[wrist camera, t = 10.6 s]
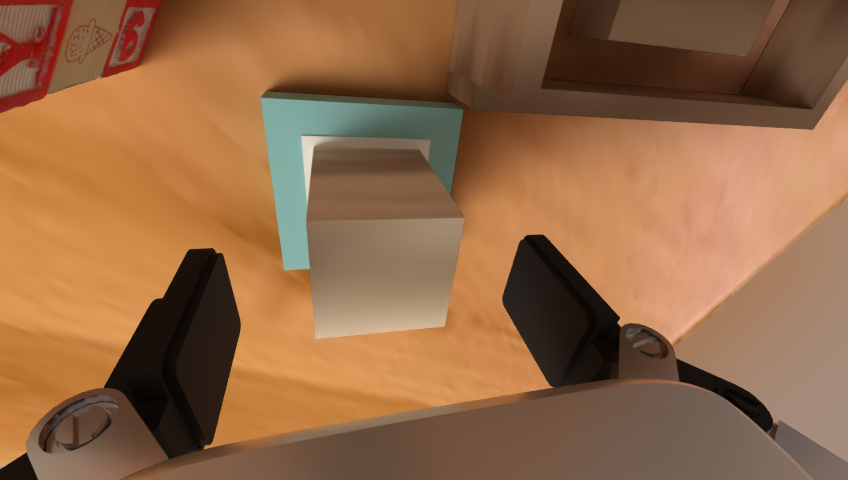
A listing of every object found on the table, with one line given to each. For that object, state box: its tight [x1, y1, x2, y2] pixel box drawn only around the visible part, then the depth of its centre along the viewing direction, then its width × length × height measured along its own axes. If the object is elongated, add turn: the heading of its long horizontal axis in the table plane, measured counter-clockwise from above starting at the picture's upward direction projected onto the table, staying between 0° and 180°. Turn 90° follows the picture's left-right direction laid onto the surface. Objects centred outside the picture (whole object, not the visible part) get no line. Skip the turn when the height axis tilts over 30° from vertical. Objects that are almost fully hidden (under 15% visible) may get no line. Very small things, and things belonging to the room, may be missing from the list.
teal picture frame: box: [261, 91, 464, 270], centre depth 19 cm, size 9×9×2 cm
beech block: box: [306, 146, 465, 339], centre depth 15 cm, size 5×5×7 cm
